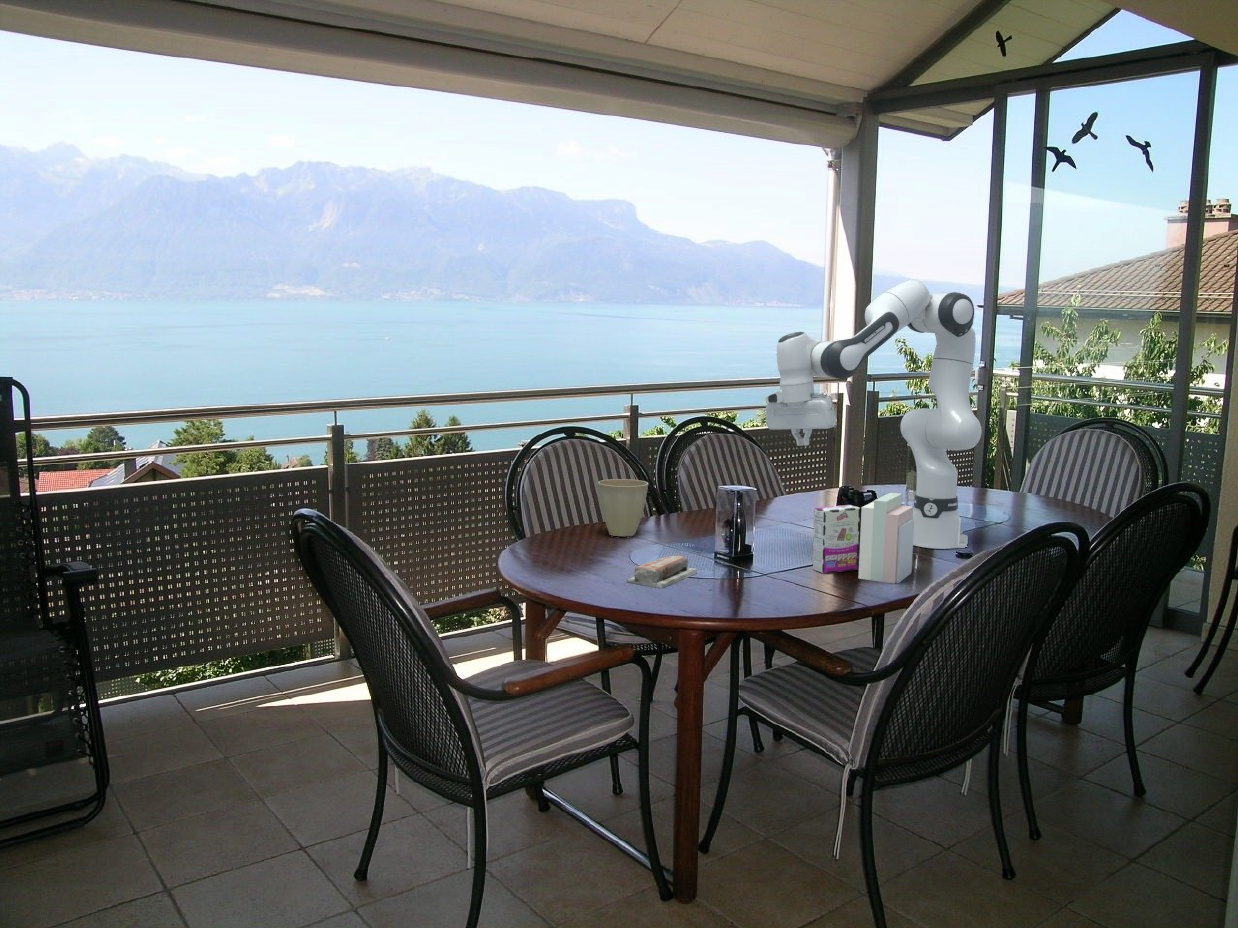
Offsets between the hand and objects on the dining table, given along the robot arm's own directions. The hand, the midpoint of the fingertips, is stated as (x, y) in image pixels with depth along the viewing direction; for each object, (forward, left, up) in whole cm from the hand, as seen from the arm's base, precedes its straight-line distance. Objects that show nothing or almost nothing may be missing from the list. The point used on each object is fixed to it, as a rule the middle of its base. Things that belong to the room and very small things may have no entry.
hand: (803, 445), depth 260 cm
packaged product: (+41, -20, -31) cm, 55 cm away
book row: (+8, +26, -30) cm, 41 cm away
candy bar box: (+10, +13, -31) cm, 35 cm away
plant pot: (+4, -54, -31) cm, 62 cm away
